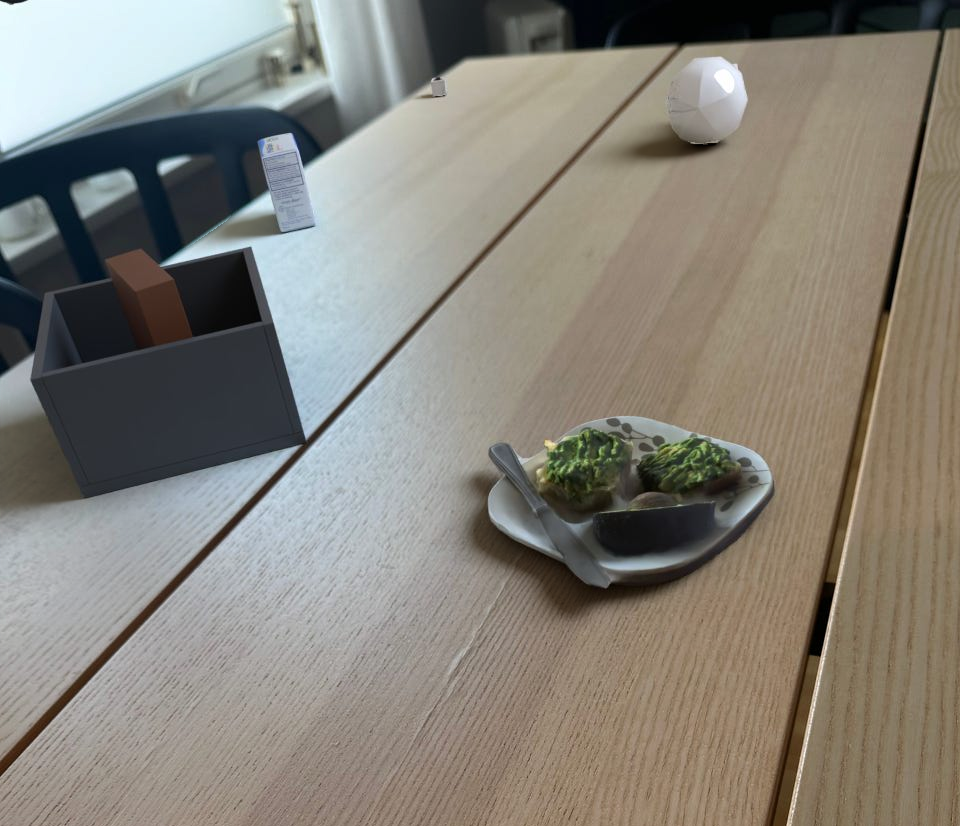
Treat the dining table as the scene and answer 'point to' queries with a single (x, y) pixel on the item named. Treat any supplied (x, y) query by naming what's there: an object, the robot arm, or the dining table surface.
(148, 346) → the reddish brown rectangular block
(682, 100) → the white faceted oblong piece
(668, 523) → the salad plate
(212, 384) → the open storage box
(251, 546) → the dining table surface
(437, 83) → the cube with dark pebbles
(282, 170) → the medicine box
